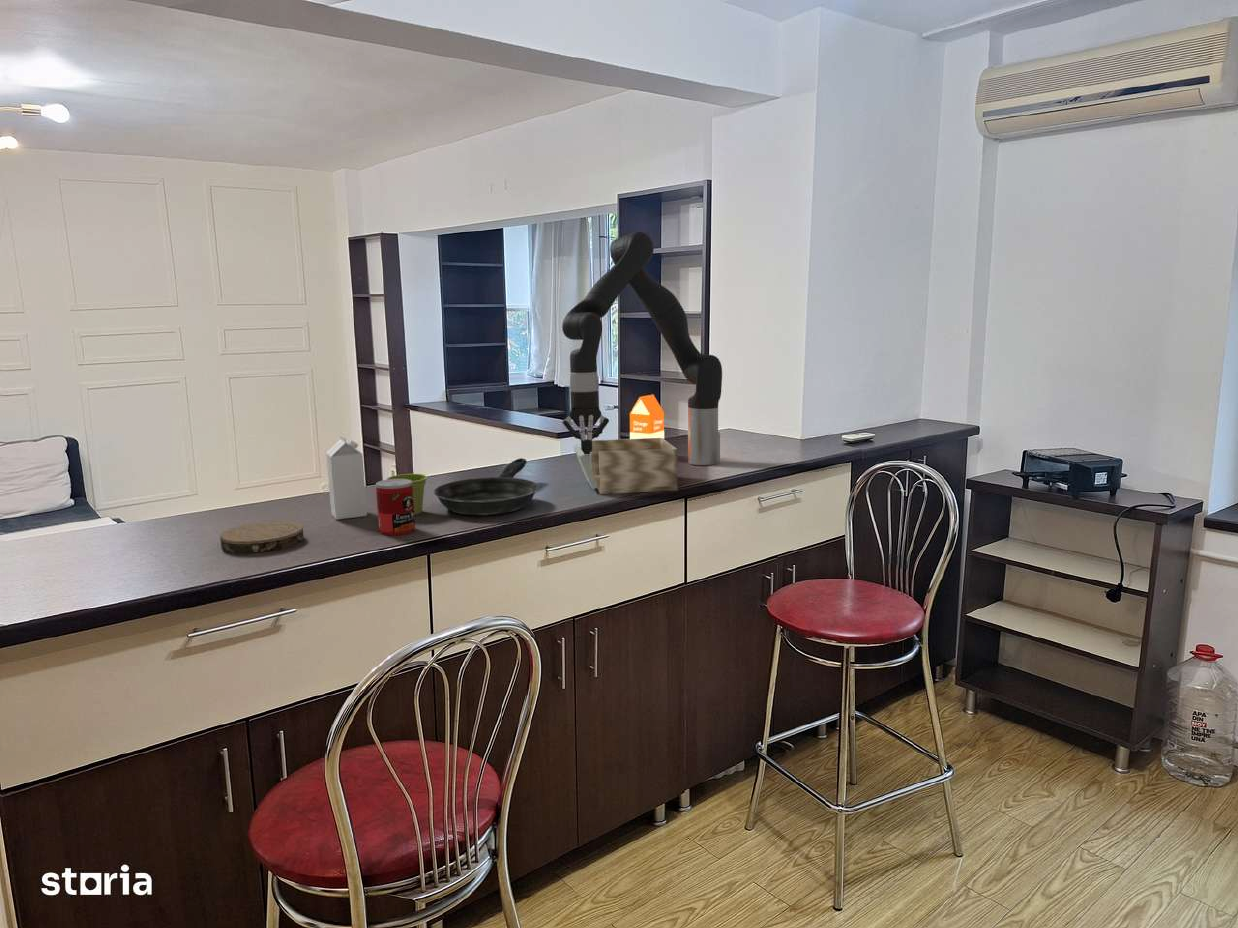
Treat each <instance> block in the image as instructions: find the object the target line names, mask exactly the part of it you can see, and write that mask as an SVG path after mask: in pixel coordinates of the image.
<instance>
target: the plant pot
mask: <svg viewBox="0 0 1238 928" xmlns="http://www.w3.org/2000/svg"><path fill="white" fill-rule="evenodd" d="M387 479H408V480H411V481H412V484H413V498H414V514H415V516H416V515H420V514H421V513H422V512H423V505H424V494H425V493H424V492H425V491H424V490H425V485H426V481H427V479H428V476H427V475H426V474H421V473H405V474H404V473H403V474H396V475H392V476H388V477H387V478H386V479H385V480H387Z"/></svg>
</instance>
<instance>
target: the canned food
mask: <svg viewBox="0 0 1238 928" xmlns="http://www.w3.org/2000/svg"><path fill="white" fill-rule="evenodd" d="M386 479H387V478H386ZM386 479H383V480H379V481H377V482H376V483H375V491H376V492H375V493H376V505H377V508H376V509H377V516H378V530H379V532H380V533H381V534H382V535H385V536H404V535H408V534H411V533H413V532H414V531H415V530H416V519H415V518H416V515H415V514H414V498H413V484H412V481H411V480H408V479H387V480H386Z"/></svg>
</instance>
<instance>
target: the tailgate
mask: <svg viewBox="0 0 1238 928" xmlns="http://www.w3.org/2000/svg"><path fill="white" fill-rule="evenodd" d="M572 447H573V450H574V453H575V455H576V457H577V459H578V462H579V465H580V466H581V469H582V472H583V474H584V476H585V478H586V479H587V481H588V483H589V486H590V487H591V489H592V490H595V489H597V487H598V485H597V483H596V481H595V478H594V476H593V473H592V471H591V465H590V464H589V462H588V459H587V457H586V456H587V455H586V454H584V452H583V451H582V450H581V446H580V445H579V444H578V443H576V444H574V445H573V446H572Z"/></svg>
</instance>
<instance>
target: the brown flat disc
mask: <svg viewBox="0 0 1238 928" xmlns="http://www.w3.org/2000/svg"><path fill="white" fill-rule="evenodd" d="M304 538H305V537H304V527H303V525H302V524H301V523H299V522H294V521H283V520H281V521H280V520H278V521H277V520H273V521H260V522H255V523H248V524H243V525H239V526H234V527H232V528H229V529H226V530H225V531H223V532H222V533H221V534H220V535H219V539H220V545H221V546H220V547H221V550H222V552H224V553H227V554H230V555H231V554H232V555H259V554H267V553H275V552H279V551H283V550H287V549H290V548H294V547H295V546H298V545H299V544H301V543H303V541H304Z"/></svg>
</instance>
